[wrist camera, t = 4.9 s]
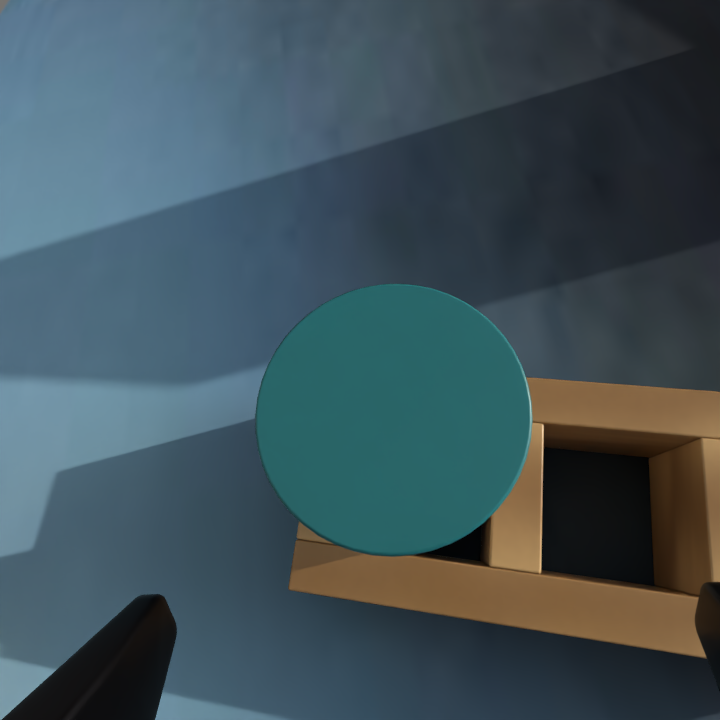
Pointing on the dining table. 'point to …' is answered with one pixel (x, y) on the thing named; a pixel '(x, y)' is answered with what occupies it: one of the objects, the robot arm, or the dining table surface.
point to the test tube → (393, 420)
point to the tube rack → (524, 530)
